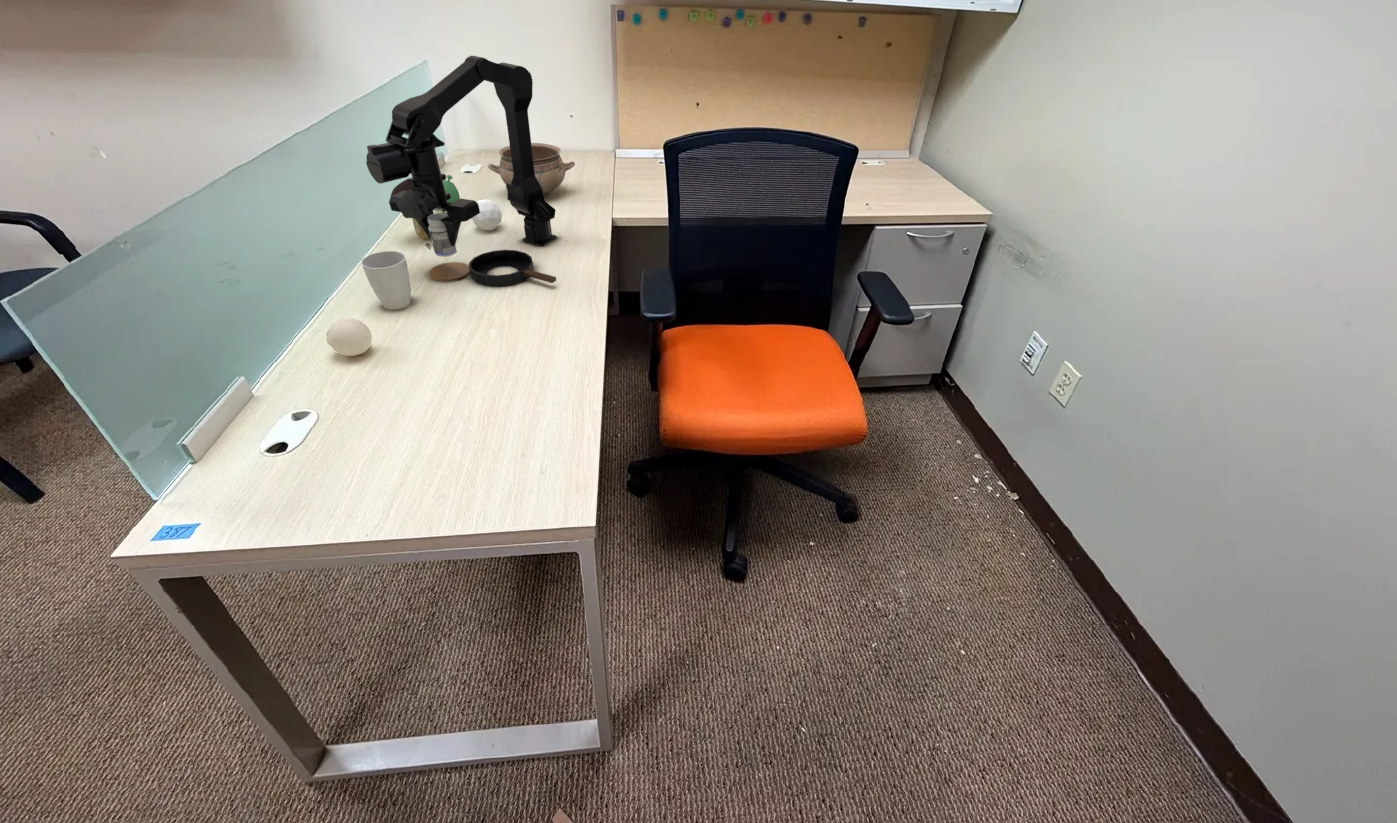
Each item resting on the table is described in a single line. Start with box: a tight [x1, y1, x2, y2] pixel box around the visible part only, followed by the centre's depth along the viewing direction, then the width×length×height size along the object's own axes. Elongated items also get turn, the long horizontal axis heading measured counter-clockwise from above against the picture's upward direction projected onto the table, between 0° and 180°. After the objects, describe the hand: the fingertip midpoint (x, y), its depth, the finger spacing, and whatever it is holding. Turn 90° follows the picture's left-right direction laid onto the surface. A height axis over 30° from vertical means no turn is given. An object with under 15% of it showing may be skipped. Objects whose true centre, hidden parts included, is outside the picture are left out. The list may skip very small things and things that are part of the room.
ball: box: [471, 198, 503, 231], centre depth 156 cm, size 8×8×8 cm
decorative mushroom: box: [390, 177, 430, 240], centre depth 148 cm, size 11×11×15 cm
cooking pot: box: [487, 142, 576, 197], centre depth 177 cm, size 25×19×12 cm
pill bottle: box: [427, 212, 458, 258], centre depth 132 cm, size 5×5×8 cm
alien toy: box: [443, 174, 461, 213], centre depth 164 cm, size 7×8×10 cm
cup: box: [360, 250, 412, 311], centre depth 123 cm, size 8×8×10 cm
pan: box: [468, 249, 557, 288], centre depth 137 cm, size 14×22×3 cm, turn 63°
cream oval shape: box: [325, 317, 373, 357], centre depth 109 cm, size 7×7×7 cm
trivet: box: [428, 261, 471, 282], centre depth 138 cm, size 9×9×1 cm
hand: (443, 243), depth 134 cm, fingers closed on pill bottle, 5 cm apart
